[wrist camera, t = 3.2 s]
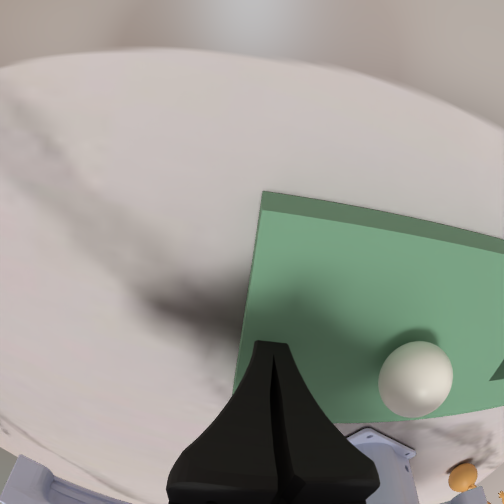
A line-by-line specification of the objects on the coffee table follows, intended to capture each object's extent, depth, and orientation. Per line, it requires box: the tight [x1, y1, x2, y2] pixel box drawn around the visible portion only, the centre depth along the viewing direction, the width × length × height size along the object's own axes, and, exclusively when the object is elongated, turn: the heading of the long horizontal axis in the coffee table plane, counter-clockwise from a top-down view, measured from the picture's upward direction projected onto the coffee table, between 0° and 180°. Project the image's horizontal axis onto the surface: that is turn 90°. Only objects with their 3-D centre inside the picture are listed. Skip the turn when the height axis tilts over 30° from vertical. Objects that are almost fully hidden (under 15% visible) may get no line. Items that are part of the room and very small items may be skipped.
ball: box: [378, 341, 453, 418], centre depth 12 cm, size 4×4×4 cm
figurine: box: [448, 463, 504, 504], centre depth 21 cm, size 8×6×12 cm
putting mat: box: [232, 191, 504, 423], centre depth 15 cm, size 24×12×2 cm, turn 82°
